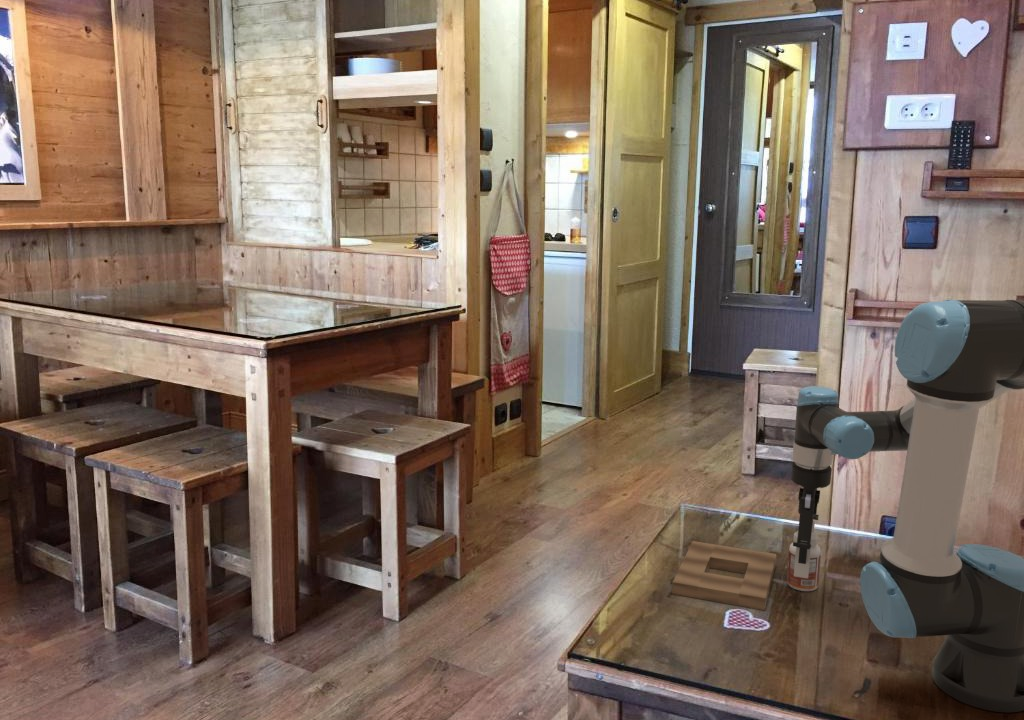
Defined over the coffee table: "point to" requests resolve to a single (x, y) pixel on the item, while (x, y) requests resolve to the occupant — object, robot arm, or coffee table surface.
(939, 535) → the robot arm
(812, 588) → the pill bottle
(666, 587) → the coffee table surface
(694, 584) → the square wooden frame
